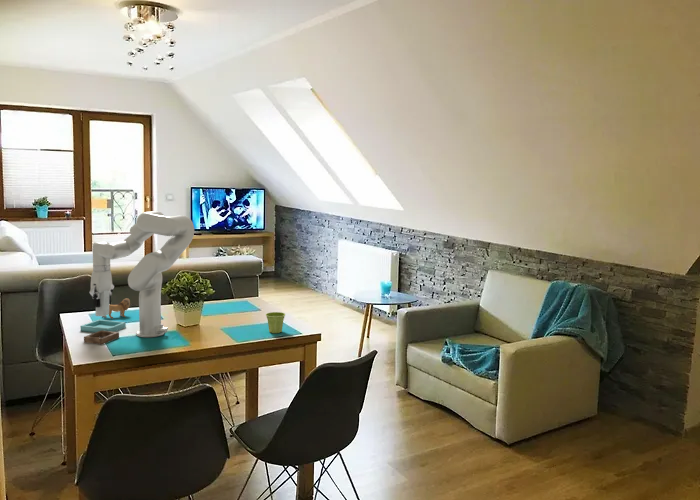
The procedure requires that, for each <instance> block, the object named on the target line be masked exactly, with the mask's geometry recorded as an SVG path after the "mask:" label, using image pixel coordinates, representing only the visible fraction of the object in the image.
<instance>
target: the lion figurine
mask: <svg viewBox="0 0 700 500" xmlns="http://www.w3.org/2000/svg"><path fill="white" fill-rule="evenodd" d="M130 305H131V300H130V299H129V298H124V299H122V301H120V302H119V303H118V304H109V314H108V315H106V316H101V319H103V318H107V317H109V318H110V319H114V317H113V316H112V313H113V312H114V313H118V312H119V316H121V317H124V318H126V315H125V312H126V311H127V310H129V308H130Z"/></svg>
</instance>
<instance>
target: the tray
mask: <svg viewBox="0 0 700 500" xmlns="http://www.w3.org/2000/svg"><path fill="white" fill-rule="evenodd" d="M126 324H127V323H126V322H124V321H117V320H116V321H115V320H106V319H97V320H94V321H91V322H88V323H84V324H82V325H80V332H86V333H91V334H93V333H95V332H98V331H101V330H103V331H111V332H119V331H121V330H124V329H125V328H127V327H126V326H127V325H126Z"/></svg>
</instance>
